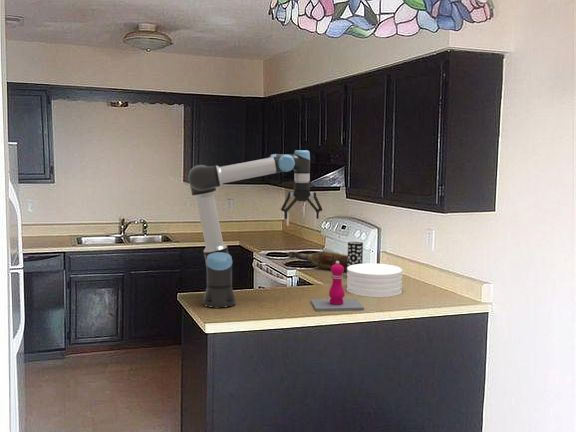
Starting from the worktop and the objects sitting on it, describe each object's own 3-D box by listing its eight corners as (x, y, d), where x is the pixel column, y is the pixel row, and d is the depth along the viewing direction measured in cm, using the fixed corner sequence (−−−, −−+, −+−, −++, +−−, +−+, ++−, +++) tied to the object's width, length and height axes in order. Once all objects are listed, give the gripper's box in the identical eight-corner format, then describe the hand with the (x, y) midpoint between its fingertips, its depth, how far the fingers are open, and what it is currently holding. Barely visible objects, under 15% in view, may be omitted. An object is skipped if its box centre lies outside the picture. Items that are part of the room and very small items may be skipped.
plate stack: (345, 296, 301) (346, 273, 300) (347, 283, 329) (348, 262, 328) (402, 298, 298) (403, 275, 296) (400, 285, 325) (401, 264, 324)
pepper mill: (332, 305, 277) (332, 262, 275) (326, 301, 284) (327, 259, 282) (346, 304, 280) (347, 262, 277) (340, 300, 286) (341, 259, 284)
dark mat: (315, 311, 273) (315, 308, 273) (310, 301, 289) (310, 299, 289) (363, 310, 275) (363, 307, 275) (356, 301, 291) (356, 298, 291)
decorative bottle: (359, 265, 361) (294, 256, 385) (355, 251, 356) (290, 243, 379) (351, 277, 354) (286, 267, 378) (348, 263, 348) (282, 253, 372)
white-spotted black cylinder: (360, 280, 335) (361, 244, 333) (345, 279, 338) (346, 243, 336) (363, 277, 343) (364, 242, 341) (349, 276, 346) (349, 241, 343)
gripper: (326, 181, 301) (325, 224, 303) (275, 181, 298) (275, 224, 300) (328, 182, 293) (327, 226, 296) (277, 182, 290) (276, 226, 293)
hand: (301, 225), depth 298 cm, fingers open, 13 cm apart
